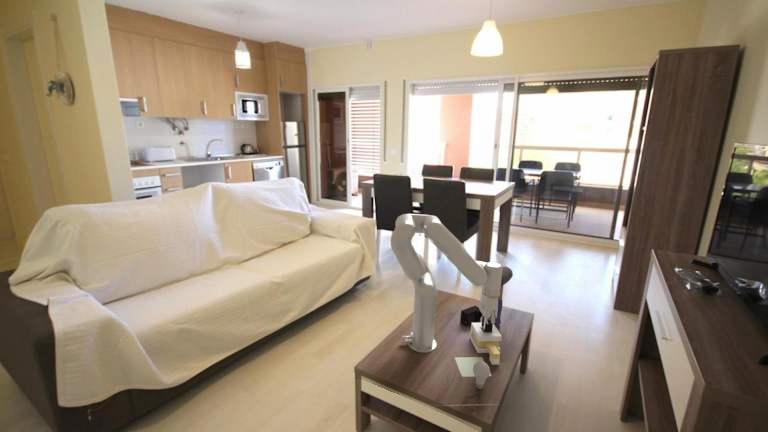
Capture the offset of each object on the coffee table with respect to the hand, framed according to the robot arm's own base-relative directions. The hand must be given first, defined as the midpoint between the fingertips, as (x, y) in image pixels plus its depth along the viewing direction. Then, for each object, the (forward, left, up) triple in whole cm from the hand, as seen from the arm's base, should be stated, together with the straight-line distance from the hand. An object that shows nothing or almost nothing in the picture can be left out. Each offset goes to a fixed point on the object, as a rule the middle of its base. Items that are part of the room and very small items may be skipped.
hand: (486, 328), depth 157 cm
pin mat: (-10, -14, -9) cm, 20 cm away
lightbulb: (-11, -26, -9) cm, 30 cm away
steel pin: (0, 0, -5) cm, 5 cm away
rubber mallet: (+12, +18, -9) cm, 24 cm away
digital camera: (0, +21, -10) cm, 23 cm away
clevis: (0, -3, -9) cm, 10 cm away
